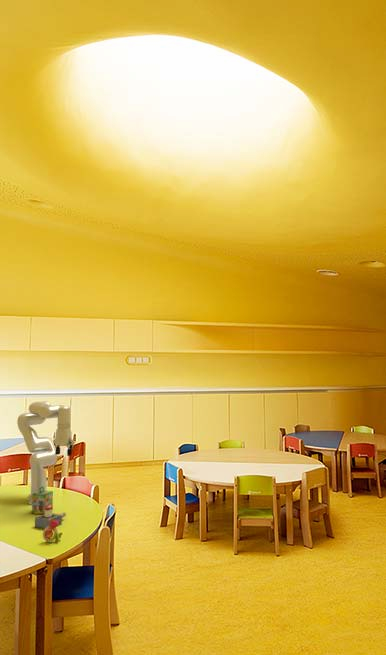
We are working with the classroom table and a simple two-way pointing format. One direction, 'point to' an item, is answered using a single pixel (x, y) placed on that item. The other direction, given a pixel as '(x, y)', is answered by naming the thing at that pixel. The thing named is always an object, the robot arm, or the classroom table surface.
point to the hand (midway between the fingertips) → (63, 454)
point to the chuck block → (44, 522)
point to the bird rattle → (48, 532)
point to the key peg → (48, 511)
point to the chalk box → (41, 501)
